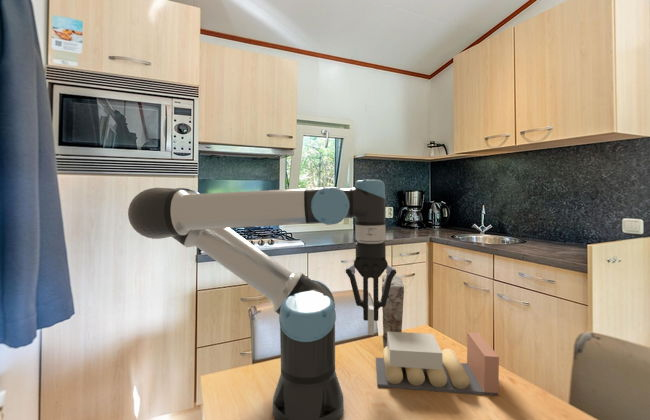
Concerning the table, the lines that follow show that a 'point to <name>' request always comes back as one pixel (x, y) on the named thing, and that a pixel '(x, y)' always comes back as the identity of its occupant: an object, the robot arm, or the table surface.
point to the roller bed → (427, 383)
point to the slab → (414, 350)
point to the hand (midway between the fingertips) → (370, 332)
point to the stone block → (393, 307)
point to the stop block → (483, 362)
